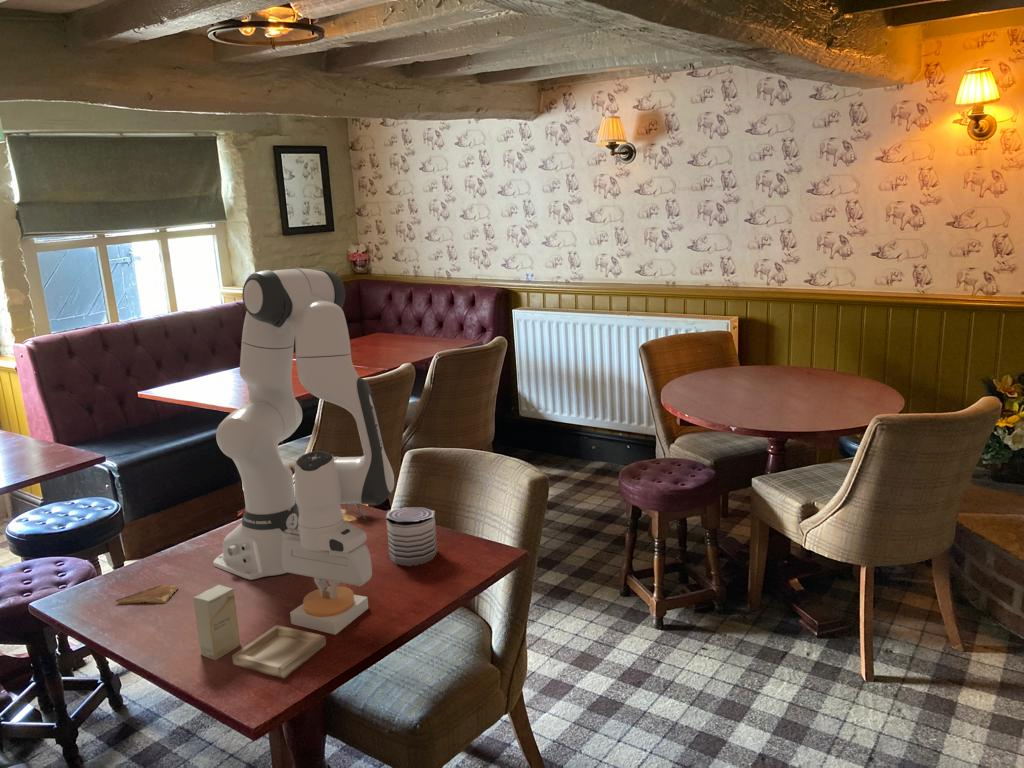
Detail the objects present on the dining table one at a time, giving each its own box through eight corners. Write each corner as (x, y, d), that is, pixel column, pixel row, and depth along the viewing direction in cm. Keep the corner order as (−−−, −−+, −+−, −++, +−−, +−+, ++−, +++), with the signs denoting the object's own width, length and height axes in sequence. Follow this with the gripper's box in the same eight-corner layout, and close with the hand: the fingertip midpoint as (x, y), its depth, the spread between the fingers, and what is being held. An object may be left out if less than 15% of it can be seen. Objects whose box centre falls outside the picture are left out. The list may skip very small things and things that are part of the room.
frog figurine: (339, 509, 227) (344, 459, 224) (390, 529, 219) (396, 477, 216) (315, 518, 219) (319, 466, 216) (367, 539, 211) (373, 485, 208)
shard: (116, 606, 176) (115, 599, 175) (133, 590, 183) (133, 583, 183) (165, 607, 175) (164, 599, 175) (181, 590, 183) (180, 583, 182)
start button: (293, 611, 165) (292, 604, 164) (325, 589, 173) (324, 582, 173) (333, 620, 160) (332, 612, 160) (363, 597, 169) (363, 590, 169)
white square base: (291, 626, 165) (289, 612, 164) (326, 601, 175) (324, 588, 174) (335, 636, 160) (334, 622, 160) (368, 610, 170) (367, 597, 169)
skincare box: (215, 661, 153) (207, 602, 151) (199, 656, 156) (191, 597, 153) (242, 645, 159) (234, 587, 156) (226, 640, 161) (218, 583, 158)
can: (379, 562, 193) (375, 514, 190) (415, 545, 201) (411, 499, 199) (412, 574, 186) (408, 525, 183) (448, 557, 194) (444, 509, 191)
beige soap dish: (233, 665, 152) (232, 655, 151) (277, 633, 162) (276, 624, 162) (283, 678, 147) (282, 668, 146) (326, 645, 157) (325, 636, 157)
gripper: (271, 532, 165) (278, 595, 168) (354, 546, 156) (360, 612, 159) (292, 521, 171) (299, 582, 174) (373, 533, 162) (379, 598, 165)
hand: (329, 597), depth 167 cm, fingers closed, pressing on start button
